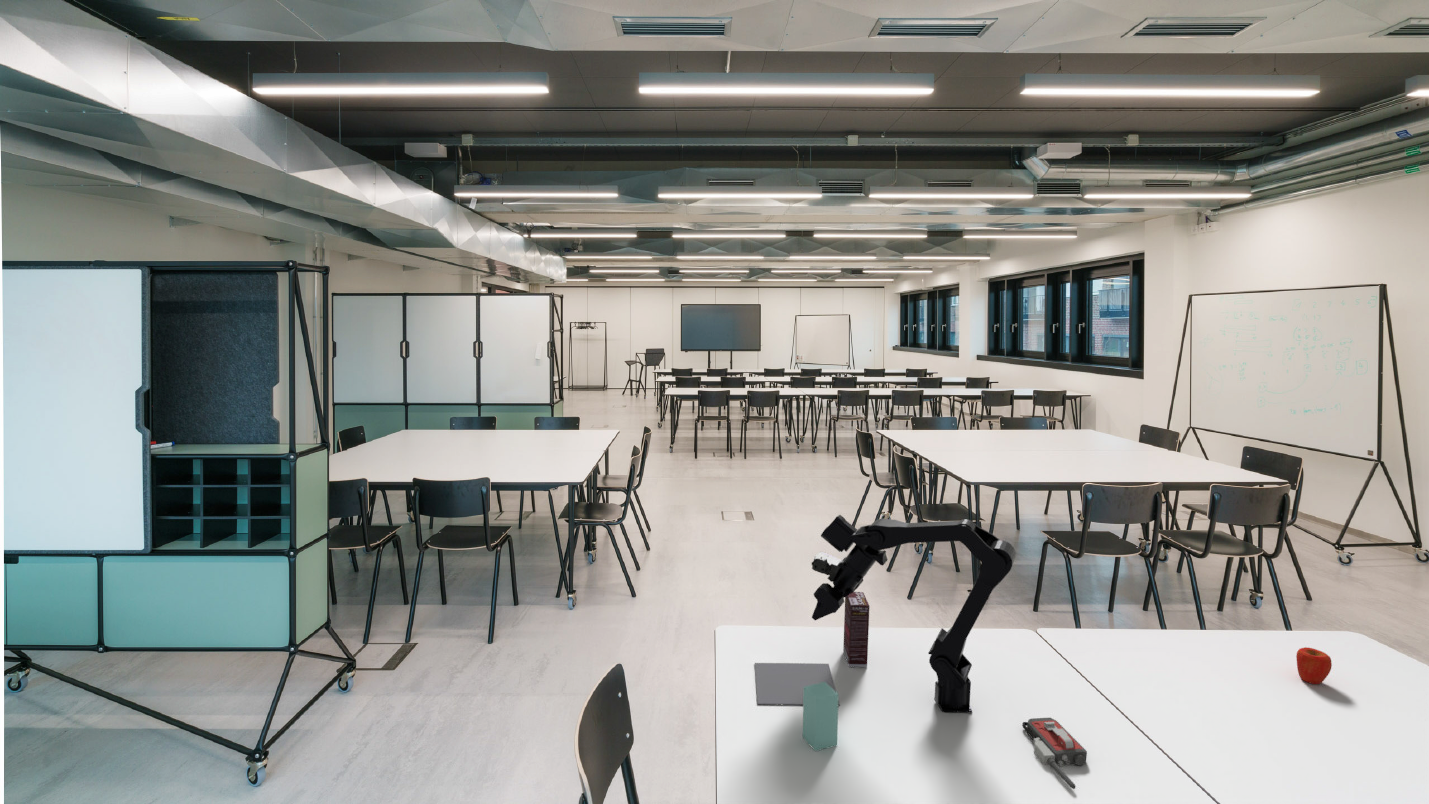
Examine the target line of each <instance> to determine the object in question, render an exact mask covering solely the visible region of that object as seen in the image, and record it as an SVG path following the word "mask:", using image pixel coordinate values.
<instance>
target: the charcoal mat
mask: <svg viewBox="0 0 1429 804" xmlns="http://www.w3.org/2000/svg"><path fill="white" fill-rule="evenodd" d="M754 672H755V683H756V684H755V685H756V686H755V687H756V701H757V702H756V703H757V705H758V706H762V705H763V706H765V705H766V706H776V705H775V704H778V705H777V706H803V695H804V687H805V686H809V685H813V684H818V683H822V682H826V683H827V684H828V685H829V686H830V687H831V688H832V689H834V690H835V691H836V692H837V689H836V686H835V682H834V678H833V674H832V672H831V668H830V664H829V663H812V662H811V663H805V662H804V663H801V662H800V663H799V662H798V663H796V662H795V663H793V662H791V663H790V662H788V663H787V662H779V663H778V662H754ZM781 704H783V705H781ZM839 706H841V705H840V700H839V699H838V707H839Z"/></svg>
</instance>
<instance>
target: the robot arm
mask: <svg viewBox="0 0 1429 804" xmlns="http://www.w3.org/2000/svg"><path fill="white" fill-rule="evenodd" d="M820 537H821V538H822V539H823V540H825V541H826V542H827V543H828V544H830V546H832V547H833V548H834V549H836V550H837V551H838V552H840V553H843V551H845V552H848V551H849V549H850V548H851V547H852V546H853V545H854V544H855V545H854V546H853V547H852V549H851V550H850V552H849V553H848V554H847V555H846V556H844V558H843V559H840V558H838V557H836V556H834V555H831V554H829V553H826V552H823V551H819V552H818V553H817V554H816V555H815V556H814V558H813V561H811V563H810V564H811V566H812V567H811V569H812V570H813V571H815V572H817V573H820V574H824V575H826V576H828V577H827V579H828V580H829V582H832V584H833V586H832V585H831V584H829V583H828V582H826V583H824V582H823V583H821V585H820V586H818V588H817V589H816V590H815V591H814V592H813V597H814V598H815V599H816V601H817V602H816V605H815V608H814V610H813V613H812V615H811V619H813V620H814V621H817V620H820V619H821V618H824V617H826V616H829V615H831V614H835V613H837V612H838V610H839V609H840V608H841V607H842V605H844V604H845V597H846V596H848V595H849V594H851V593H853V592H856V590H857V589H858V588H859V587H860V586H861V584H862V583H863V582H864V577H866V575H867V574H868V572H869V570H870V569H871V568H872V567H873V565H874V564H875V563H878V564H879V565H880V566H882V567H883V566H884V565H885V564H886V563H887V562H888V557H887V551H886V550H888V549H892V548H896V547H898V546H901V545H905V544H914V543H915V544H918V543H941V542H943V543H944V542H945V543H947V542H959V543H962V545H964V546H965V547H966V549H968V550H969V552H971V554H972V555H973V556H974V558H975V559H977V560H978V561H980V562H981V563H980V567H979V569H978V573H977V578H976V581H975V583H974V584H973V586H972V588H971V590H970V592H969V593H968V594H969V595H968V596H967V598H966V599H965V602H964V603H963V606H962V608H961V609H960V611H959V613H958V615H957V617H956V619H955V620H954V622H953V624H952V626H951V627H950V628H949V629H948V630H946V629H944V628H943V627H941V629H940V630H939V633H938V634H937V636H936V638H935V640H934V641H933V644H932V645H931V647H930V649H929V651H928V655H930V656H929V662H928V663H929V664H930V667H931V669H933V671H934V673H936V677H937V680H936V681H935V684H934V700H935V701H936V703H937V705H938V706H939V709H941V712H943V713H972V712H973V707H972V706H971V704H970V703H971V689H972V688H971V686H972V685H971V684H972V681H971V680H970V678H969V674H970V672H971V671H970V670H972V667H973V665H972V662H970V660H969V659H968V658H967V657H966V656H965V654H964V653H963V652H964V651H965V650H964V649H965V646H966V643H967V638H968V636H969V635H970V633H971V631H972V630H973V627H974V626H975V623H976V621H977V620H978V618H979V616H980V615H981V612H982V610H983V609H984V607H985V605H986V603H987V602H988V600H989V597H990V596H991V594H992V592H993V590H994V589H995V588H996V587H997V586H998V585H1000V583H1002V581H1003V580H1004V579H1005V577H1007V575H1008V574H1009V573H1010V572H1011V570H1012V569H1013V568H1012V567H1013V565H1014V562H1015V560H1016V558H1017V553H1016V550H1015V548H1014V547H1013V545H1012V544H1011V543H1009V542H1008V541H1006V540H1001V539H999V538H998V537H997V536H996V535H994V534H993V533H992V532H989V531H988V530H986V529H984V528H981V527H980V526H979V525H977V524H976V523H975V522H974V521H972V520H970V519H967V518H965V519H961V520H948V521H947V520H946V521H926V522H904V521H900V520H897V519H892V518H891V519H890V518H878V519H876V520H875V521H873V522H872V523H871V524H868V525H862V526H860V527H859V528H858V529H857V528H856V527H855V526H853V525H852V524H851V523H850V522H849V521H847V519H846V518H845V517H844V516H843V515H841V514H838V515H837V516H836V517H835V518H834V519H833V521H832V522H831V523H830V524H829V525H828V526H826V527H825V529H824V530H823V531H822V533H821V534H820Z"/></svg>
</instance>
